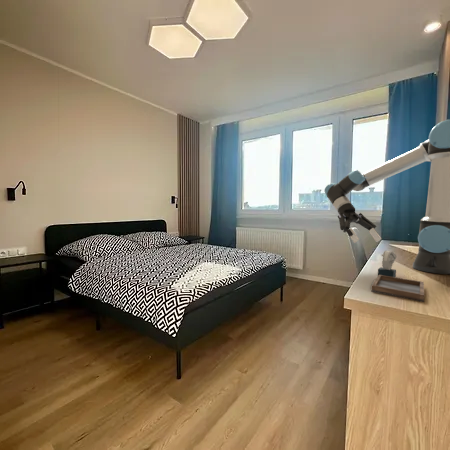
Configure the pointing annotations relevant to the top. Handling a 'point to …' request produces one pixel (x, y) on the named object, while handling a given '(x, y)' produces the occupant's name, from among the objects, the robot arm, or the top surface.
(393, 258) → the rubber stamp
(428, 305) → the top surface
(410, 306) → the top surface
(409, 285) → the valet tray
